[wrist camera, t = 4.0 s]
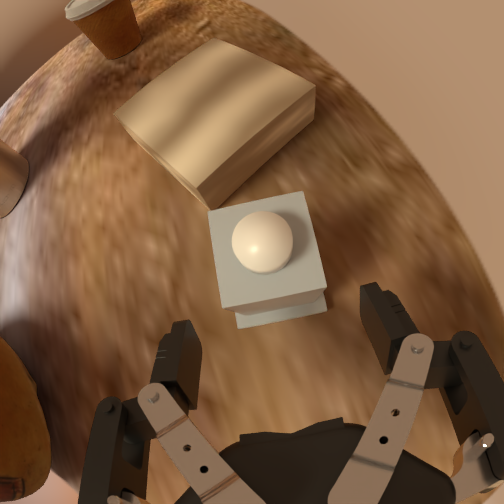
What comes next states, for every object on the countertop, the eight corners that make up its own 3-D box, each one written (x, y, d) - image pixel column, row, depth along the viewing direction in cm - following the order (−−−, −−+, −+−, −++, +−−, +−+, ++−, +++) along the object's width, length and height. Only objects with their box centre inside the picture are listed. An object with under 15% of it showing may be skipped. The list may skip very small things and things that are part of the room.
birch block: (134, 141, 28) (113, 113, 24) (223, 69, 30) (214, 37, 25) (213, 214, 25) (196, 188, 20) (313, 121, 26) (316, 85, 21)
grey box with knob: (240, 329, 22) (200, 328, 12) (226, 247, 24) (182, 191, 14) (325, 311, 21) (353, 297, 12) (306, 230, 23) (315, 161, 13)
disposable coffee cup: (133, 62, 32) (97, 0, 21) (86, 70, 34) (49, 19, 22) (162, 25, 34) (137, -32, 23) (116, 34, 36) (88, -15, 24)
